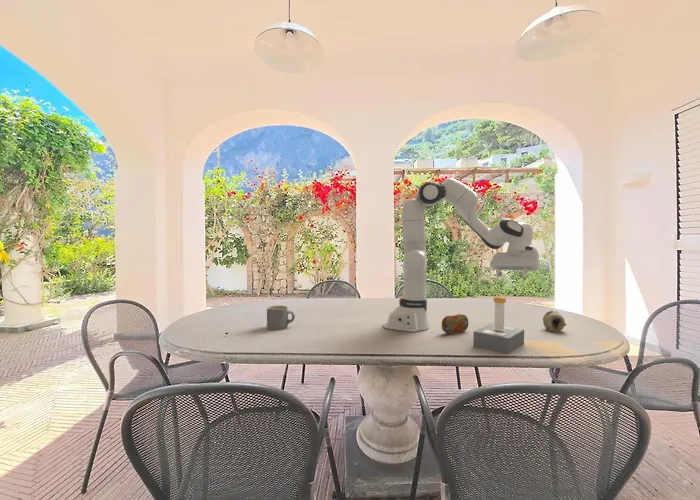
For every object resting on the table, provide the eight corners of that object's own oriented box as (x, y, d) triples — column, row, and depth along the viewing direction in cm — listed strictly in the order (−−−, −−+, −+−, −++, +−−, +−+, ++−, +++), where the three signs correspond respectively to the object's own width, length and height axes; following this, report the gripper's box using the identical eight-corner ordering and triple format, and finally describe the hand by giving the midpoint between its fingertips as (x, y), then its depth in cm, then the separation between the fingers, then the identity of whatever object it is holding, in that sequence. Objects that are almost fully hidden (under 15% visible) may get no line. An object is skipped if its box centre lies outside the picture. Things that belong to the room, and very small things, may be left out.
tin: (445, 335, 155) (445, 317, 155) (440, 333, 158) (440, 315, 157) (468, 331, 162) (469, 313, 162) (463, 329, 165) (464, 312, 164)
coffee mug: (264, 330, 163) (264, 309, 163) (270, 324, 173) (269, 305, 172) (292, 330, 162) (292, 309, 162) (296, 325, 172) (296, 305, 172)
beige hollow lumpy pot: (543, 333, 166) (536, 313, 168) (556, 329, 169) (549, 309, 171) (559, 333, 157) (551, 312, 159) (572, 328, 160) (564, 307, 162)
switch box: (490, 336, 153) (491, 323, 153) (523, 343, 144) (524, 329, 143) (473, 345, 141) (473, 331, 140) (508, 353, 131) (508, 338, 131)
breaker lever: (495, 326, 144) (496, 296, 144) (505, 328, 141) (505, 297, 141) (493, 328, 142) (493, 297, 142) (503, 329, 140) (503, 298, 139)
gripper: (492, 248, 162) (484, 271, 156) (539, 247, 148) (532, 272, 141) (496, 257, 166) (489, 279, 159) (543, 256, 151) (536, 281, 144)
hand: (510, 276), depth 150 cm, fingers open, 8 cm apart
